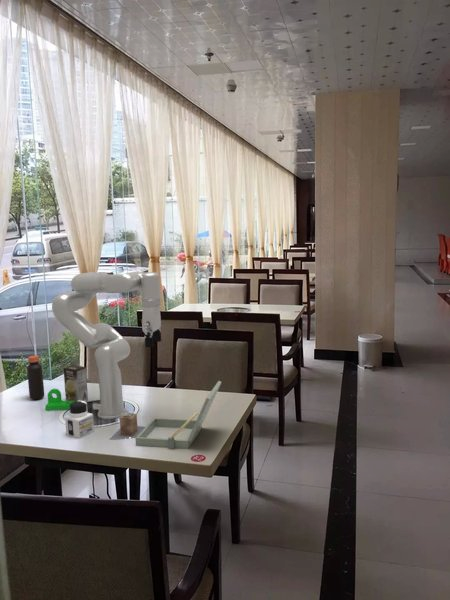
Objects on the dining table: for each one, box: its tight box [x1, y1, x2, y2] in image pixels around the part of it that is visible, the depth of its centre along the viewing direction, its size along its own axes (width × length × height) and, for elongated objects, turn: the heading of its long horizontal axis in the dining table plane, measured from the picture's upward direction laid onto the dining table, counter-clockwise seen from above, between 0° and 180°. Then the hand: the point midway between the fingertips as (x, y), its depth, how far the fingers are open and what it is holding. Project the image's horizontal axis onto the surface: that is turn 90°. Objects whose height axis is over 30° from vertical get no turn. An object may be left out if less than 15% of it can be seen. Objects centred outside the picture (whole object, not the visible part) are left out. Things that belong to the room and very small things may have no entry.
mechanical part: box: [44, 388, 74, 411], centre depth 239 cm, size 12×6×8 cm, turn 90°
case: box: [134, 380, 222, 450], centre depth 199 cm, size 29×21×20 cm
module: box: [119, 412, 138, 436], centre depth 206 cm, size 5×5×8 cm
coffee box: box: [63, 364, 89, 402], centre depth 246 cm, size 9×6×16 cm
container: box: [64, 401, 95, 439], centre depth 207 cm, size 8×8×13 cm
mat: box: [108, 425, 146, 441], centre depth 206 cm, size 11×14×1 cm
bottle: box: [26, 355, 45, 400], centre depth 253 cm, size 7×7×20 cm
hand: (153, 344), depth 216 cm, fingers open, 9 cm apart
